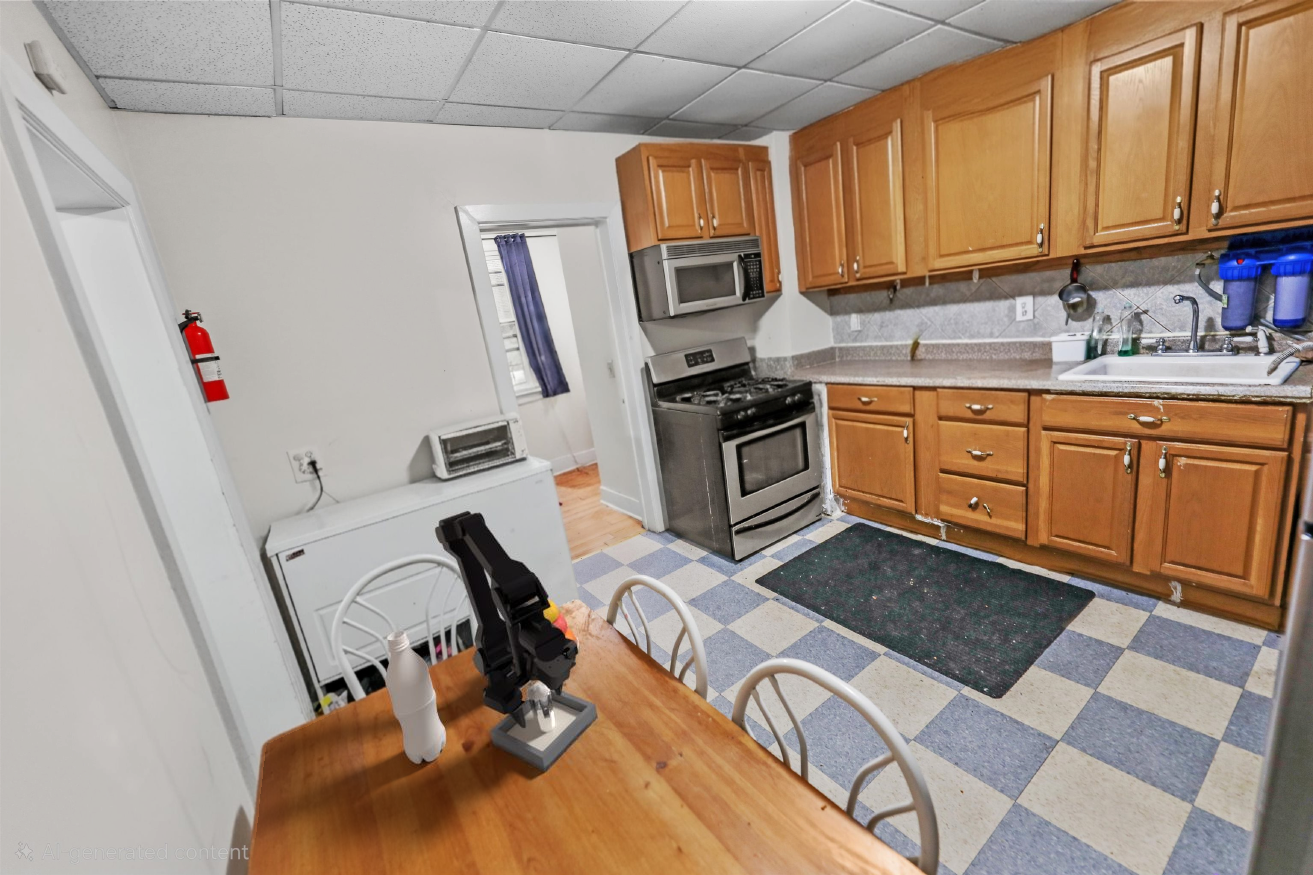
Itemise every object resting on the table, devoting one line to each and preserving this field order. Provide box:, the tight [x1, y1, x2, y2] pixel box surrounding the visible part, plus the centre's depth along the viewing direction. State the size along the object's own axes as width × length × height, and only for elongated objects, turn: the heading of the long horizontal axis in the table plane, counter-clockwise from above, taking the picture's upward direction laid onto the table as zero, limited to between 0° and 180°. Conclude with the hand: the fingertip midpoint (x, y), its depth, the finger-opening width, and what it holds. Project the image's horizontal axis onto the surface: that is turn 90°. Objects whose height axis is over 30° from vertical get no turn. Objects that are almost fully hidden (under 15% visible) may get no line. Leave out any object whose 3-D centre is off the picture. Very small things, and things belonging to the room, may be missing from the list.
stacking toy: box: [526, 596, 580, 650], centre depth 123 cm, size 14×14×20 cm
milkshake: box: [525, 680, 555, 733], centre depth 101 cm, size 4×5×10 cm
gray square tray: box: [489, 690, 599, 773], centre depth 102 cm, size 14×14×3 cm
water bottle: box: [385, 629, 447, 765], centre depth 98 cm, size 7×7×25 cm
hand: (541, 710), depth 101 cm, fingers open, 9 cm apart
